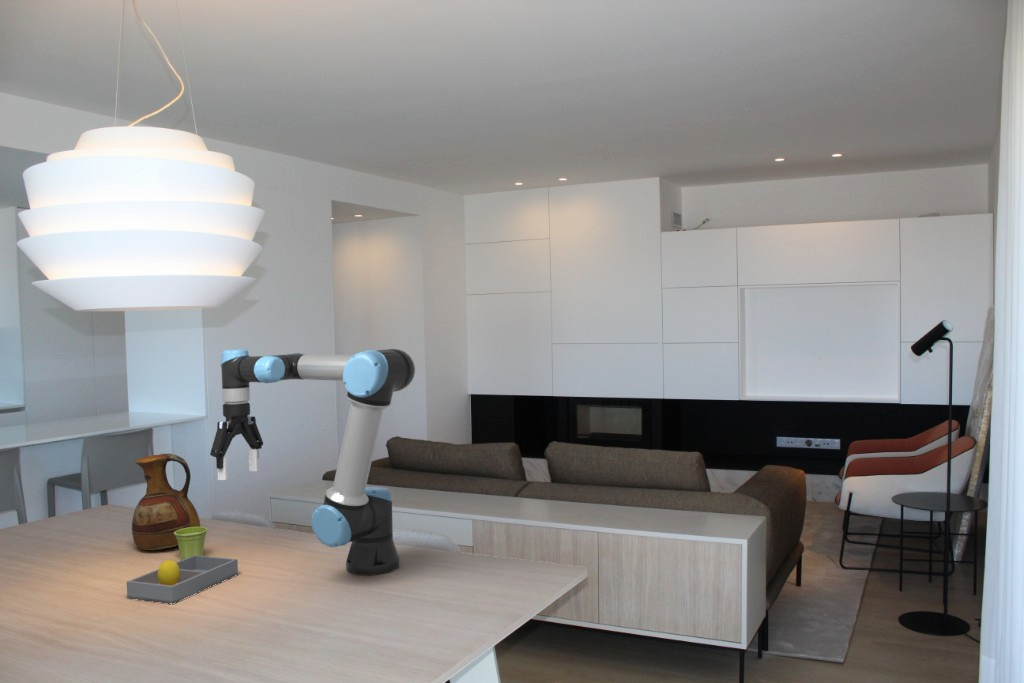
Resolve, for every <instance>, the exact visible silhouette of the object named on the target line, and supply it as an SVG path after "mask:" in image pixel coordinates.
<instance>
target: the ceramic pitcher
mask: <svg viewBox="0 0 1024 683" xmlns="http://www.w3.org/2000/svg"><path fill="white" fill-rule="evenodd" d="M168 462H177V463H179V464H180V465H181V467H182V468H183V469H184V472H185V482H184V485H183V487H182V488H181V490H178V489H175V488H173V487H172V486H171V484H170V483H169V480H168V477H167V471H166V470H167V464H168ZM134 463H135V464H136V465H138V466H140V468H142V470H143V474H144V476H143V477H144V480H145V482H146V491H145V495H143V497H142V498H141V499H140V500H138V501H139V502H138V503H137V505H136V507H135V509H134V512H133V516H132V521H131V531H132V539H133V542H134V544H135V546H136V548H138V549H141V550H144V551H146V550H148V551H155V550H163V549H167V548H173V547H176V546H179V545H178V540H177V538H176V535H174V532H175V531H177V530H180V529H183V528H189V527H201V520H200V517H199V514H198V511H197V509H196V508H195V505H194V504H193V502H191V500H190V499H189V497H188V494H189V488H190V483H191V470H190V467H189V465H188V463H187V461H186V460H185V459H184V458H183V457H181V456H179V455H177V454H172V453H160V454H153V455H149V456H144V457H141V458H138V459H136V460H135V461H134Z"/></svg>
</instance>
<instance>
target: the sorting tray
mask: <svg viewBox="0 0 1024 683" xmlns="http://www.w3.org/2000/svg"><path fill="white" fill-rule="evenodd" d="M175 562H176V563H177V564H178V566H179V569H180V579H179V581H178V583H177V584H175V585H173V586H170V585H161V584H159V582H158V578H157V574H158V569H155V570H152V571H150V572H148V573H145V574H142V575H140V576H137V577H134V578H132V579H131V580H129V579H128V580H127V581H126V599H127V598H128V599H127V600H133V599H138V600H137V601H140V600H144V601H143V602H148V601H153V602H152V603H156V602H162V603H161V604H164V603H172V604H173V603H175V602H177V601H180V600H182V599H184V598H186V597H188V596H191V595H193V594H195V593H197V592H199V591H202V590H204V589H206V588H208V587H210V586H213V585H215V584H217V585H219V584H218V583H220V582H222V581H224V580H226V579H228V580H230V579H229V578H231V577H233V576H235V575H237V574H238V575H239V568H238V567H239V566H238V565H239V564H238V563H239V562H238V559H236V558H228V557H227V558H226V557H218V556H217V557H216V556H207V555H203V556H200V555H194V556H191V557H189V558H186V559H183V560H181V559H180V560H179V561H175ZM238 575H237V576H238ZM235 577H236V576H235ZM233 578H234V577H233ZM231 579H232V578H231ZM226 581H227V580H226ZM224 582H225V581H224ZM222 583H223V582H222ZM220 584H221V583H220ZM215 586H216V585H215ZM213 587H214V586H213ZM206 590H207V589H206ZM204 591H205V590H204ZM202 592H203V591H202ZM197 594H198V593H197ZM195 595H196V594H195ZM193 596H194V595H193ZM191 597H192V596H191ZM186 599H187V598H186ZM184 600H185V599H184ZM182 601H183V600H182ZM180 602H181V601H180ZM175 604H176V603H175ZM173 605H174V604H173Z"/></svg>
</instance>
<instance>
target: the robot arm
mask: <svg viewBox="0 0 1024 683" xmlns="http://www.w3.org/2000/svg"><path fill="white" fill-rule="evenodd" d="M220 357H221V360H220V368H221V388H222V402H223V404H222V416H223V417H224V418H225V421H218V422H217V424H216V425H217V426H216V428H217V429H216V433H215V436H214V439H213V443H212V447H211V449H210V454H209V455H210V456H212V457H213V458H215V460H216V461H215V462H216V465H215V466H216V469H217V481H227V480H228V459H227V456H225V455H226V454H227V451H228V449H229V447H230V445H231V444H232V441H233V439H234V438H235V437H236V436H238V435H241V436H242V437H243V439H244V440H245V441H246V443H247V445H248V446H249V448H248V469H249V472H258V471H259V450H261V449H262V446H264V441H263V439H262V435H261V434H260V431H259V428H258V426H257V422H256V421H257V420H256V416H253V415H252V416H251V404H250V402H249V401H250V400H251V394H250V393H251V392H250V391H251V390H250V383H264V384H272V383H278V382H280V381H288V380H313V381H314V380H315V381H341V382H343V383H344V384H345V385H344V388H345V389H346V391H347V394H346V398H347V399H348V401H349V402H350V407H349V411H348V417H347V421H346V426H345V429H344V430H345V431H344V434H343V439H342V444H341V449H340V453H339V458H338V462H337V467H336V471H335V476H334V481H333V485H332V486H331V487H330V488H328V489H327V490H326V491H325V494H324V499H323V504H321V505H320V506H318V507H317V508H316V509H315V510H314V511H313V513H312V516H311V528H312V531H313V533H314V534H315V538H316V539H317V540H318V541H319V542H320V543H321V544H322V545H324V546H327V547H330V548H338V547H341V546H346V545H347V544H349V543H351V544H350V546H349V551H348V554H347V557H346V560H345V561H346V562H345V569H346V571H347V572H348V573H350V574H352V575H356V576H376V575H377V576H378V575H383V574H387V573H391V572H393V570H394V571H395V569H396V570H397V569H399V568H400V565H401V564H400V563H401V562H400V556H399V554H398V550H397V548H396V544H395V542H394V537H393V534H394V533H393V531H394V530H393V499H392V492H391V490H390V489H389V488H387V487H381V486H367V485H368V480H369V479H368V478H369V475H370V470H371V465H372V462H373V456H374V452H375V448H376V443H377V438H378V434H379V429H380V424H381V421H382V416H383V413H384V410H385V409H386V408H388V407H390V406H391V404H392V399H393V395H394V394H393V393H394V392H399V391H402V390H404V389H406V388H407V387H408V386H409V385H411V383H412V382H413V379H414V377H415V373H416V367H415V363H414V360H413V359H412V357H411V356H410V355H409V354H408V353H407V352H406V351H404V350H401V349H398V348H397V349H396V348H390V349H389V348H388V349H377V350H376V349H375V350H374V349H368V350H364V351H361V352H357V353H355V354H324V353H323V354H317V353H315V354H314V353H308V354H307V353H300V352H298V353H291V354H290V353H289V354H274V355H257V356H256V355H255V356H254V355H253V356H251V355H249V350H248V349H244V348H243V349H241V348H240V349H239V348H237V349H223V351H222V352H221V356H220ZM398 567H399V568H398Z"/></svg>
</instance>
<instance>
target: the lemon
mask: <svg viewBox="0 0 1024 683" xmlns="http://www.w3.org/2000/svg"><path fill="white" fill-rule="evenodd" d="M176 562H177V561H174V560H171V559H166V560H164V561H163V562H162V563H161V564H160V565H159V567H158V568H157V570H158V574H157V578H158V582H159V584H161V585H170V586H173V585H175V584H177V583H178V581H179V579H180V569H179V566H178V564H177V563H176Z"/></svg>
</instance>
